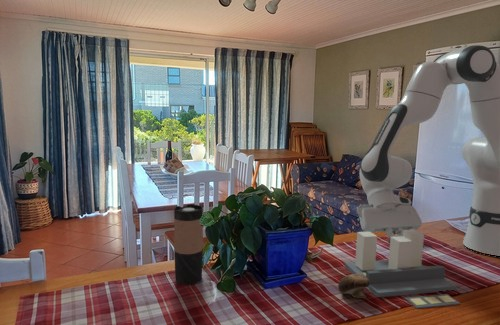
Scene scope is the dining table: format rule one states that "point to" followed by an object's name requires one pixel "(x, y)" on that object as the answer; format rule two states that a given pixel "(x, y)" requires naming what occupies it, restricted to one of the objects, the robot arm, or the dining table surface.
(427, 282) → the board
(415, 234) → the key
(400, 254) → the middle key
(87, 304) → the dining table surface
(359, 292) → the mushroom
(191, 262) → the travel mug
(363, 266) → the key
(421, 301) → the card
